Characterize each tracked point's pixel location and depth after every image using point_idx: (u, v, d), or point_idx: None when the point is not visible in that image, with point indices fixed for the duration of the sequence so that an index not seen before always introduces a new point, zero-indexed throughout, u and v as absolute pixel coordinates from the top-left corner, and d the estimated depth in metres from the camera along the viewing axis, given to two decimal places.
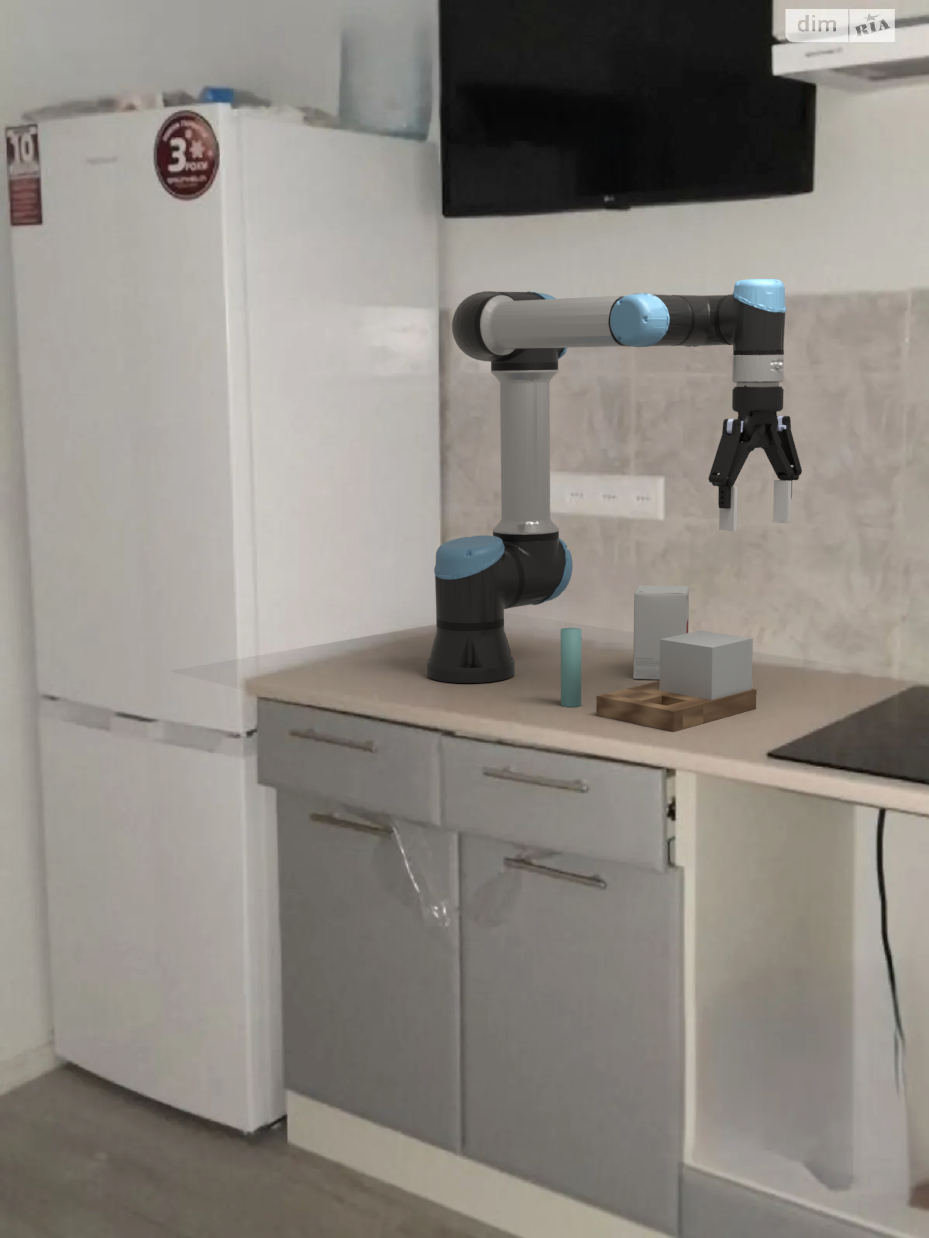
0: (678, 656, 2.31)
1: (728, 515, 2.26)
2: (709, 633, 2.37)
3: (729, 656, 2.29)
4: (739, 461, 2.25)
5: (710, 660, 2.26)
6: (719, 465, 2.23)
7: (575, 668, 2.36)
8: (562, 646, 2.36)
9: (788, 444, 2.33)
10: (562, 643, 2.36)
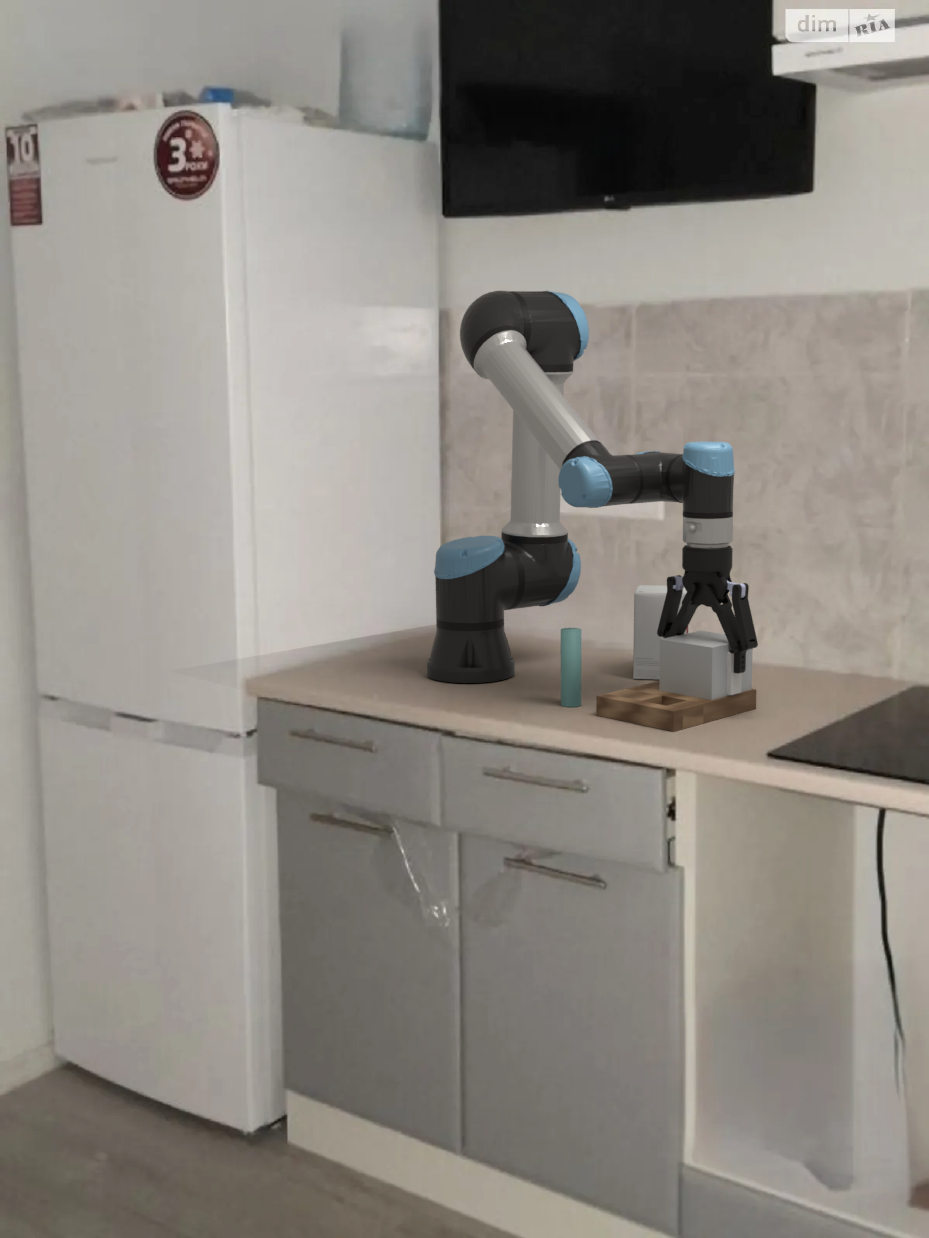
0: (678, 656, 2.31)
1: None
2: (709, 633, 2.37)
3: None
4: (676, 618, 2.35)
5: (710, 660, 2.26)
6: None
7: (575, 668, 2.36)
8: (562, 646, 2.36)
9: (735, 613, 2.27)
10: (562, 643, 2.36)
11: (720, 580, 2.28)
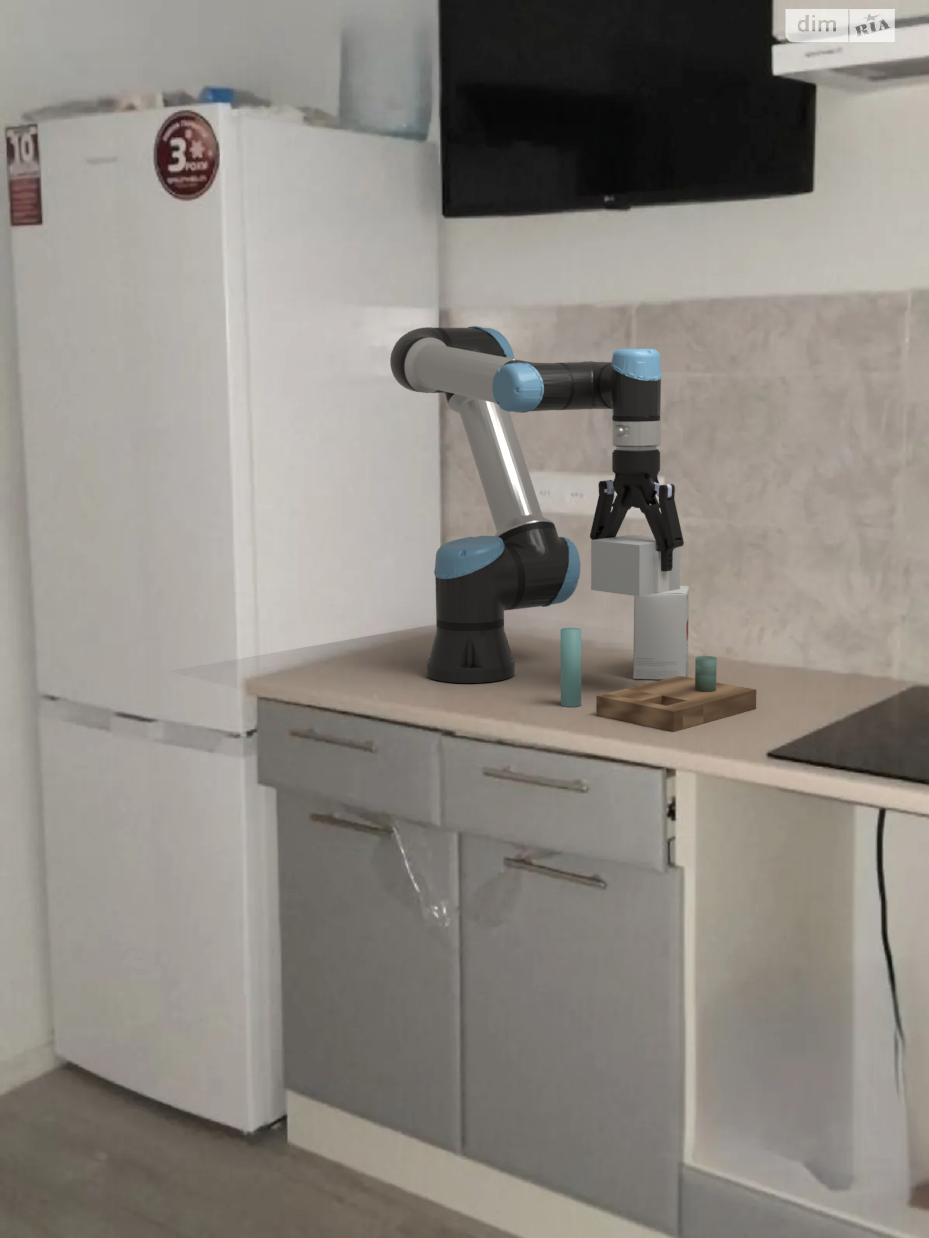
0: (608, 555, 2.40)
1: None
2: (640, 536, 2.46)
3: None
4: (607, 521, 2.44)
5: (637, 557, 2.35)
6: None
7: (575, 668, 2.36)
8: (562, 646, 2.36)
9: (662, 512, 2.36)
10: (562, 643, 2.36)
11: (648, 481, 2.37)
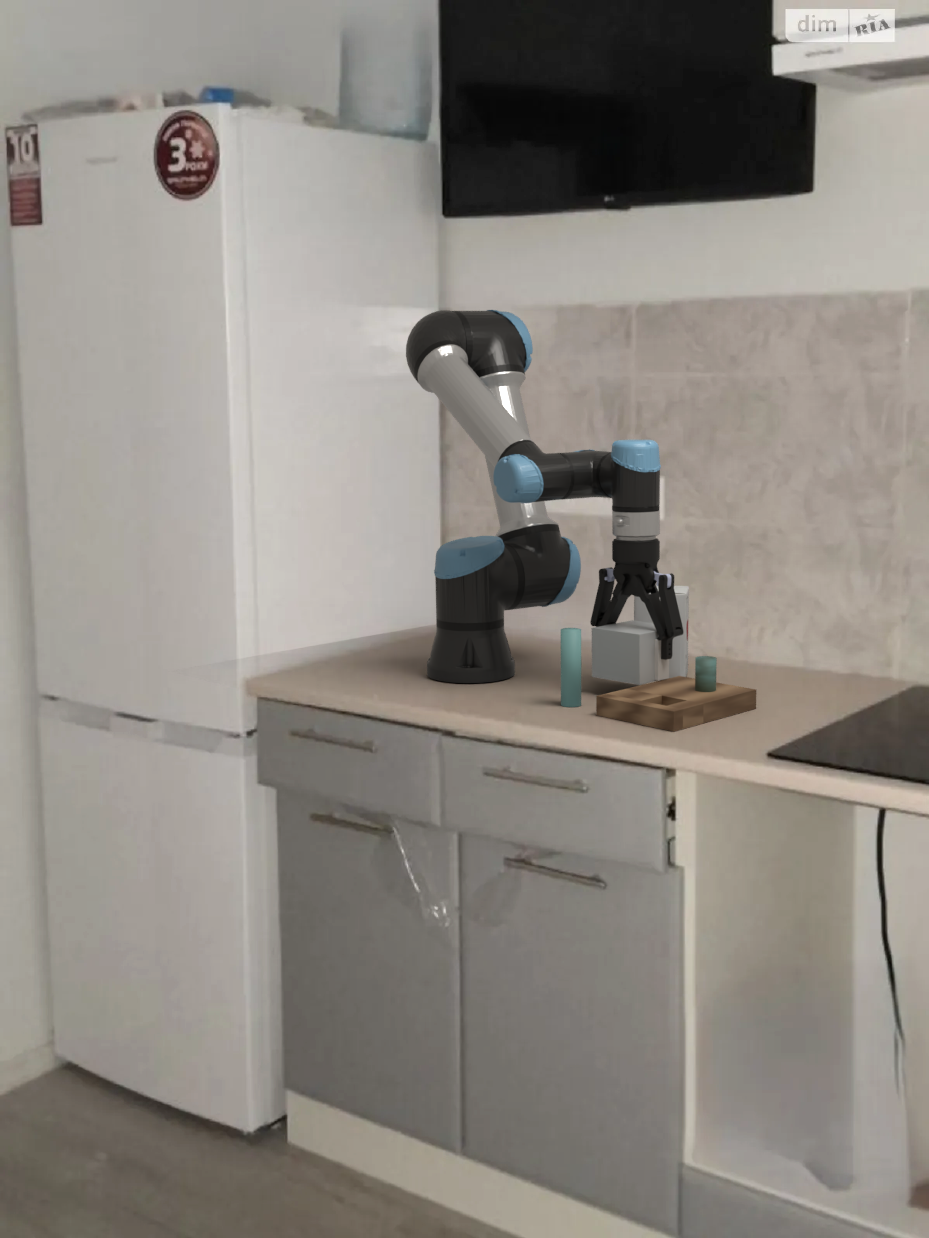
0: (608, 643, 2.42)
1: None
2: (640, 622, 2.48)
3: None
4: (607, 608, 2.46)
5: (637, 646, 2.38)
6: None
7: (575, 668, 2.36)
8: (562, 646, 2.36)
9: (662, 602, 2.38)
10: (562, 643, 2.36)
11: (647, 571, 2.39)
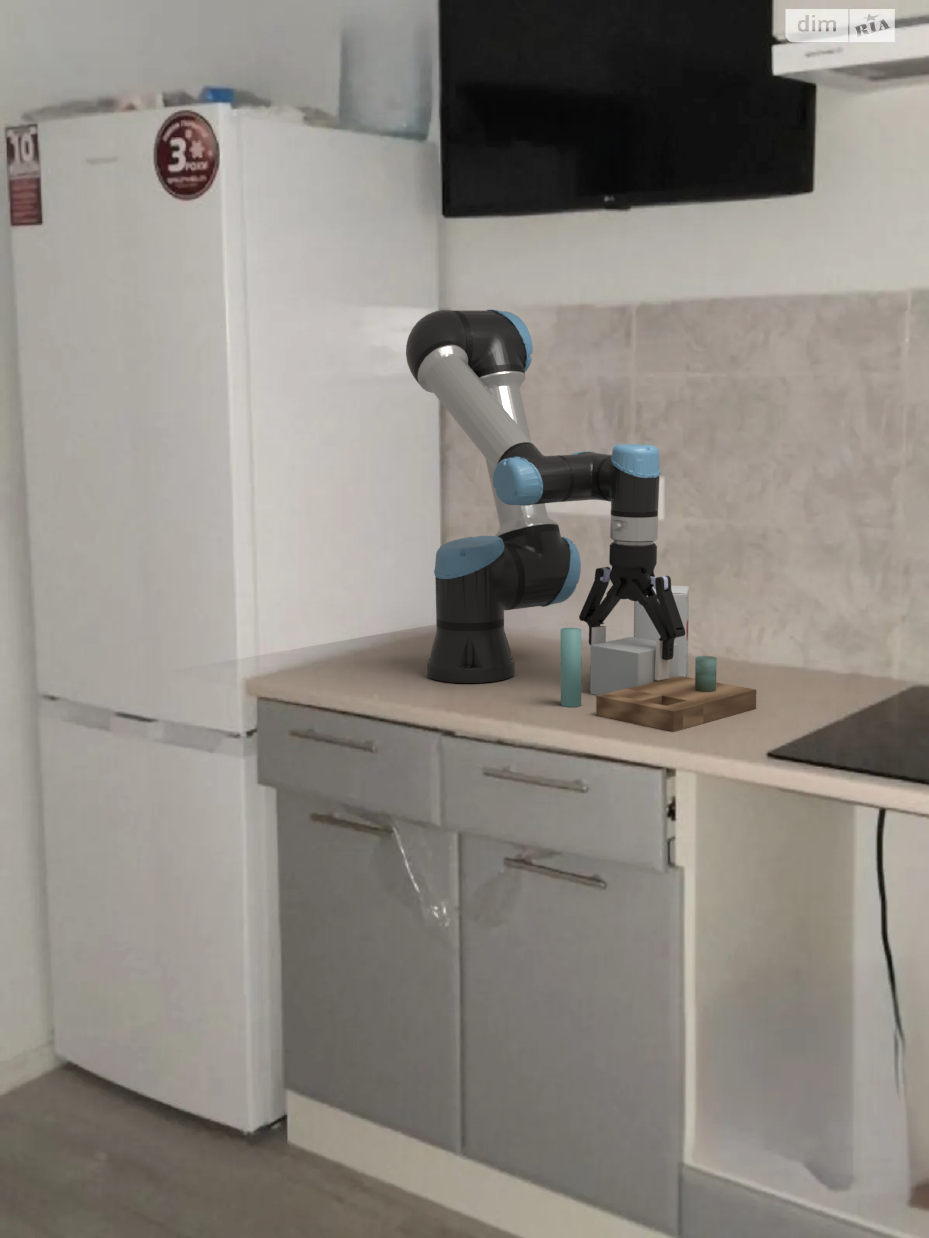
0: (607, 661, 2.43)
1: None
2: (638, 639, 2.49)
3: None
4: (599, 606, 2.48)
5: (636, 665, 2.38)
6: None
7: (575, 668, 2.36)
8: (562, 646, 2.36)
9: (661, 604, 2.39)
10: (562, 643, 2.36)
11: (643, 576, 2.40)
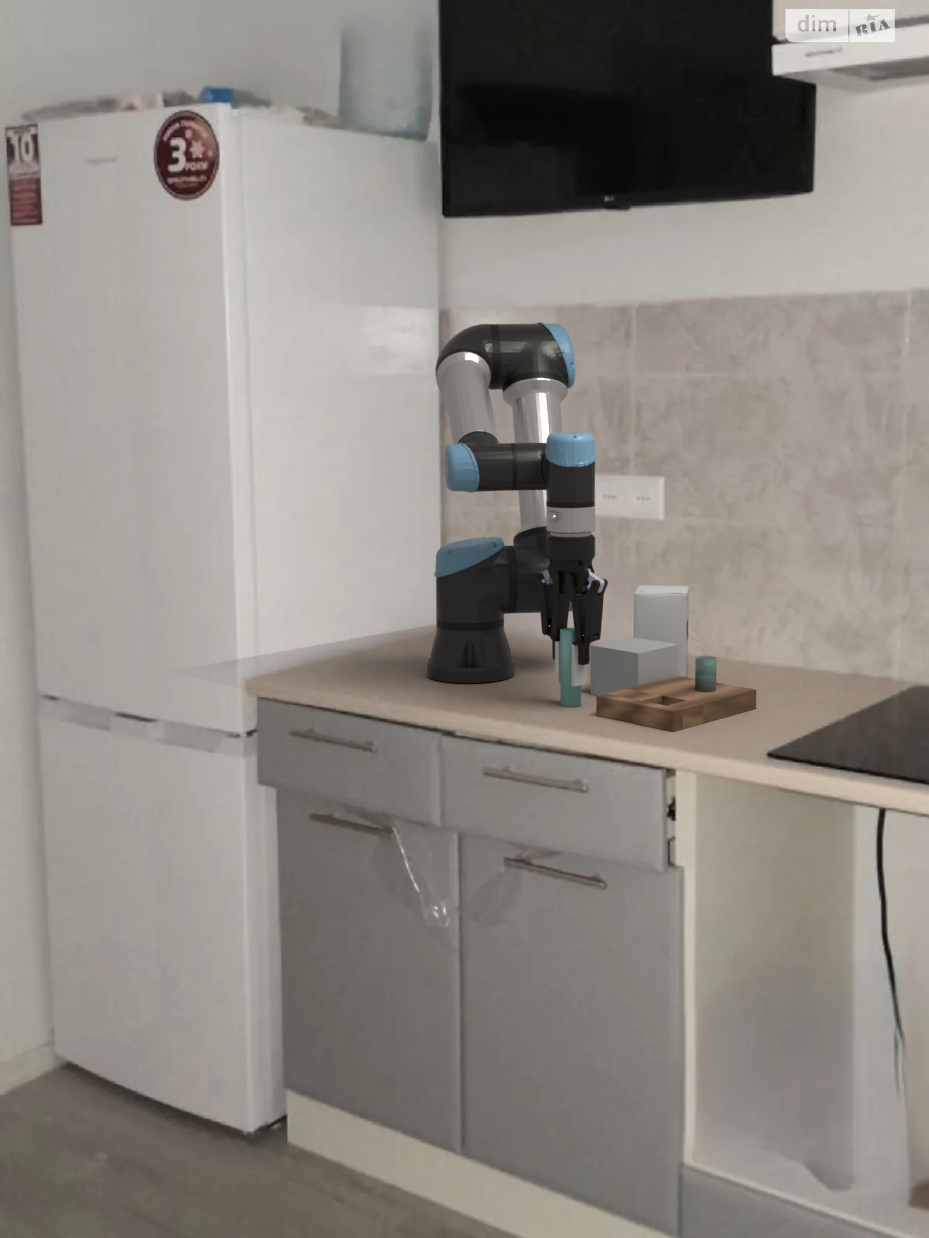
0: (607, 661, 2.43)
1: None
2: (638, 639, 2.49)
3: (655, 661, 2.41)
4: (553, 614, 2.37)
5: (636, 665, 2.38)
6: None
7: None
8: (561, 646, 2.36)
9: (587, 605, 2.32)
10: (561, 643, 2.36)
11: (583, 570, 2.32)
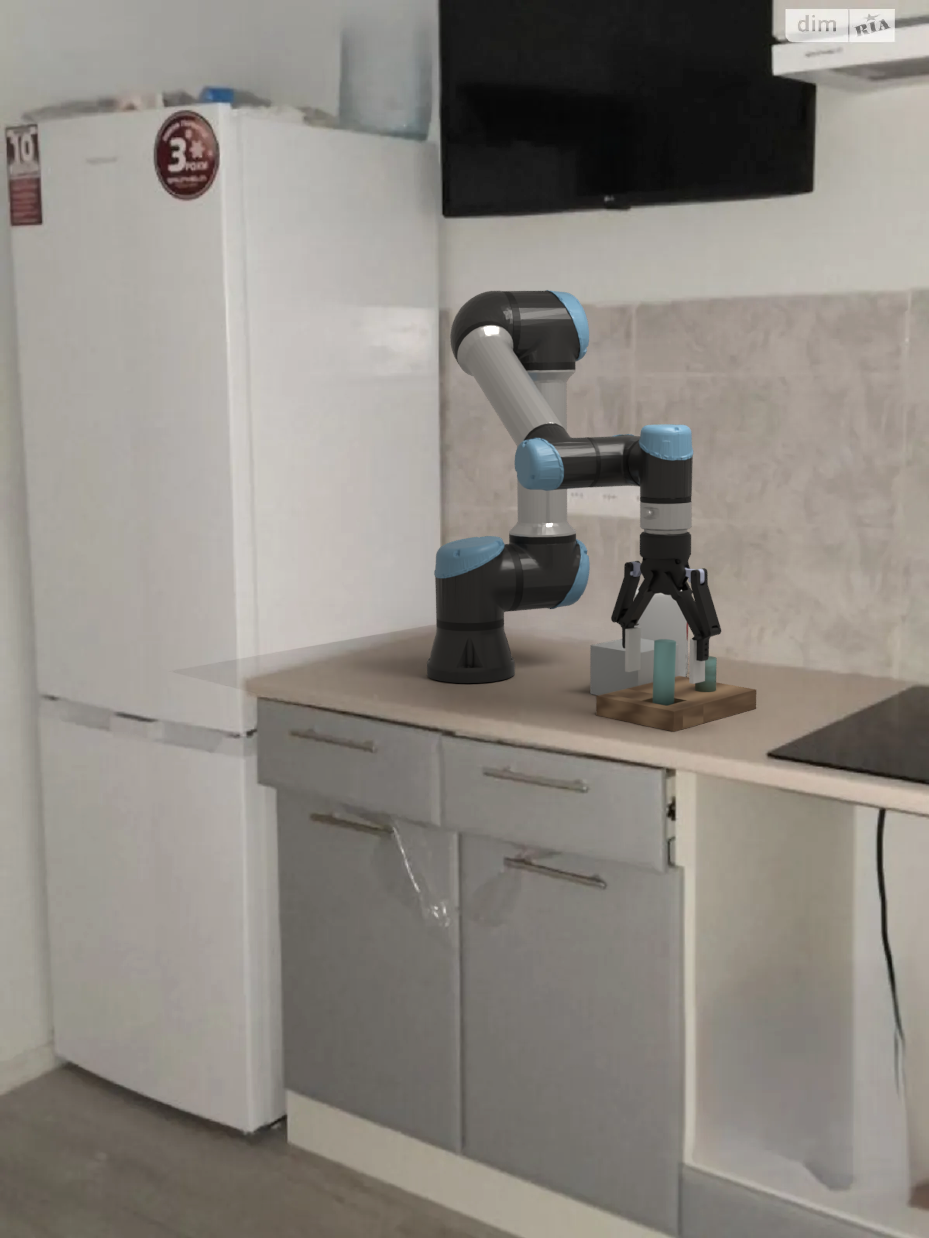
0: (607, 661, 2.43)
1: None
2: None
3: None
4: (631, 604, 2.28)
5: None
6: None
7: (669, 682, 2.25)
8: (656, 659, 2.25)
9: (695, 599, 2.19)
10: (656, 656, 2.25)
11: (678, 567, 2.21)
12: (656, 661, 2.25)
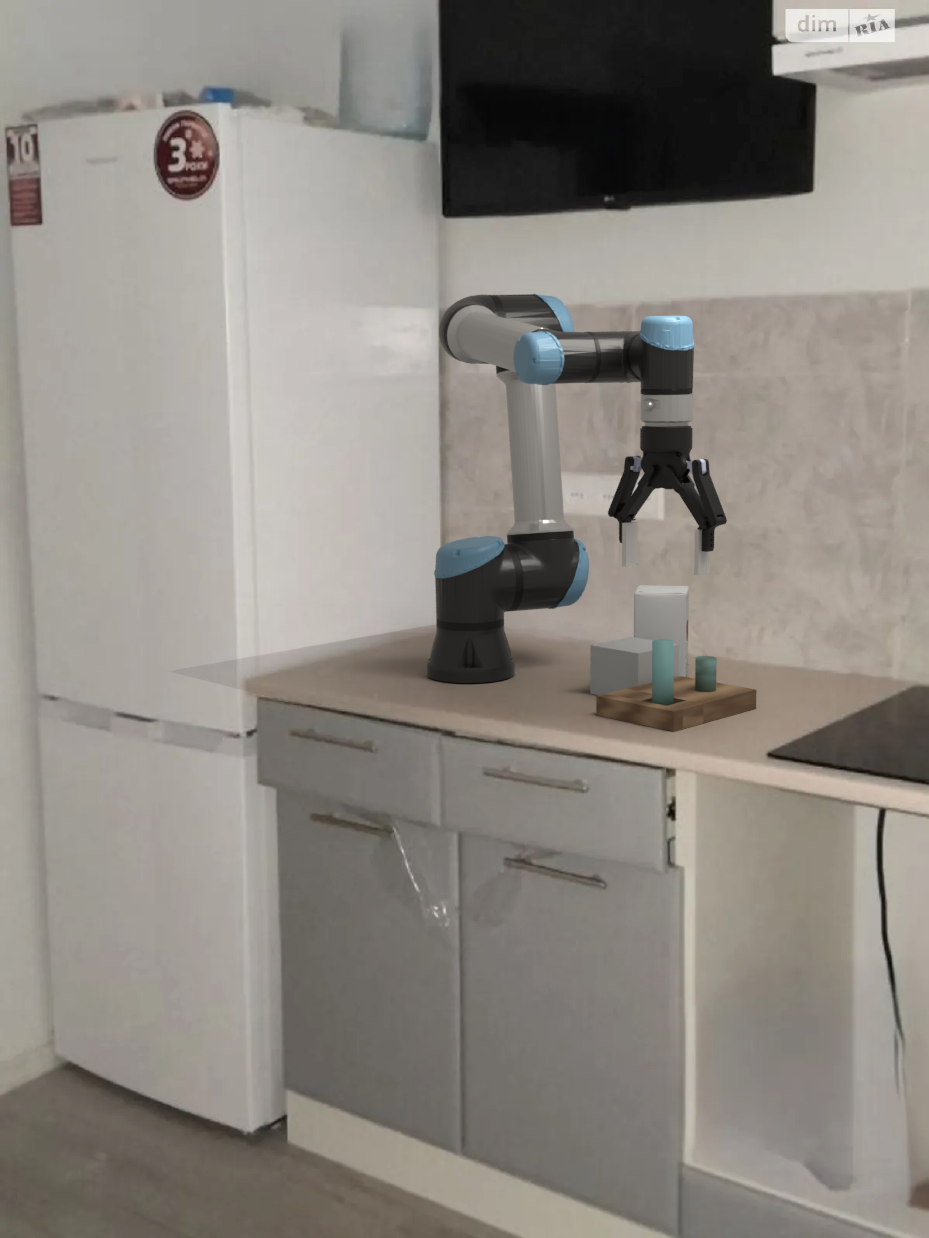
0: (607, 661, 2.43)
1: None
2: (638, 639, 2.49)
3: None
4: (630, 498, 2.26)
5: (636, 665, 2.38)
6: None
7: (668, 682, 2.25)
8: (654, 659, 2.25)
9: (698, 490, 2.16)
10: (654, 656, 2.25)
11: (678, 460, 2.18)
12: (654, 661, 2.25)
